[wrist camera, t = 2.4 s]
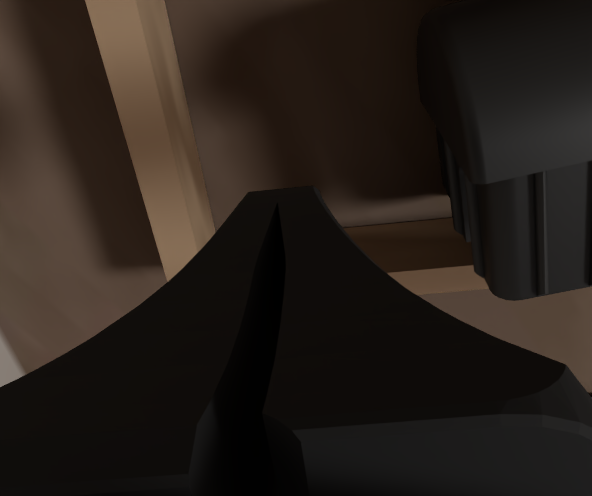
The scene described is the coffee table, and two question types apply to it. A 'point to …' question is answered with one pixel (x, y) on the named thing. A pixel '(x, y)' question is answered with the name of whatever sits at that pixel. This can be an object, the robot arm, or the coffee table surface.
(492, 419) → the robot arm
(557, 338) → the coffee table surface
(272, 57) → the coffee table surface
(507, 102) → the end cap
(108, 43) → the cubby
